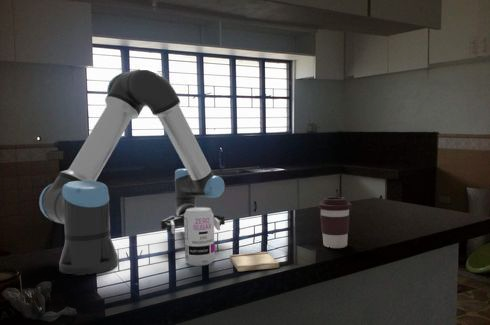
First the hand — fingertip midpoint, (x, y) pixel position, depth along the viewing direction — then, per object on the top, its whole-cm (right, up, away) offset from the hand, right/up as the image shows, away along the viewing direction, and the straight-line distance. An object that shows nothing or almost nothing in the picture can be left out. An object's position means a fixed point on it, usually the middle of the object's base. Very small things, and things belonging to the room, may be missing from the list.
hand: (196, 227), depth 125 cm
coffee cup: (+43, -7, +6) cm, 44 cm away
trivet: (+17, -8, -11) cm, 22 cm away
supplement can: (+2, -9, -8) cm, 12 cm away
